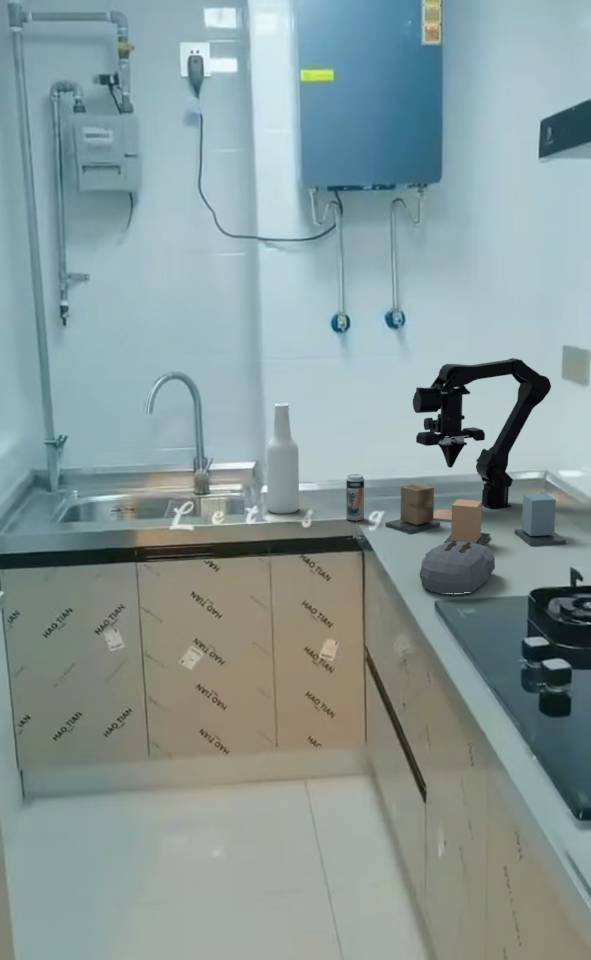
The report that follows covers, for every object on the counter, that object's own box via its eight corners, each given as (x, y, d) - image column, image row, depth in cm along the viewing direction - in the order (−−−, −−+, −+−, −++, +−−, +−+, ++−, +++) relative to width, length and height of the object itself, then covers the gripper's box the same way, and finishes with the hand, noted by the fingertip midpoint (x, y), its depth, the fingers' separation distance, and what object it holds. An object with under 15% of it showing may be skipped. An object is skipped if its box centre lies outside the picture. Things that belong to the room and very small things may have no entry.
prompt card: (437, 511, 259) (437, 509, 259) (470, 514, 256) (470, 512, 256) (429, 519, 251) (429, 517, 251) (462, 523, 248) (462, 520, 248)
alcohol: (271, 505, 268) (269, 401, 261) (301, 506, 266) (300, 401, 259) (264, 513, 259) (262, 406, 252) (295, 515, 258) (294, 406, 251)
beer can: (343, 520, 252) (343, 476, 249) (350, 516, 256) (350, 473, 253) (359, 522, 249) (359, 478, 247) (367, 518, 254) (367, 474, 251)
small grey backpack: (436, 565, 215) (407, 592, 198) (437, 530, 213) (407, 555, 196) (501, 573, 209) (477, 603, 191) (503, 537, 207) (478, 564, 189)
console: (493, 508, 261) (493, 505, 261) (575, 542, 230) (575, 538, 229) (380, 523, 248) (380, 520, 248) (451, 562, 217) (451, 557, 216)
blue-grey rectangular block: (521, 529, 237) (523, 494, 235) (544, 527, 238) (546, 493, 236) (530, 536, 231) (532, 500, 229) (554, 534, 232) (555, 499, 230)
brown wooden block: (417, 516, 250) (417, 483, 248) (433, 520, 245) (434, 487, 243) (400, 520, 247) (401, 486, 244) (416, 524, 242) (417, 491, 240)
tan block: (456, 534, 234) (457, 499, 231) (480, 536, 231) (481, 501, 229) (451, 540, 228) (452, 505, 226) (475, 543, 226) (476, 507, 224)
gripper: (464, 404, 266) (462, 458, 269) (406, 409, 259) (405, 464, 262) (487, 410, 256) (485, 466, 259) (427, 415, 249) (426, 472, 252)
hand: (449, 467), depth 258 cm, fingers closed
